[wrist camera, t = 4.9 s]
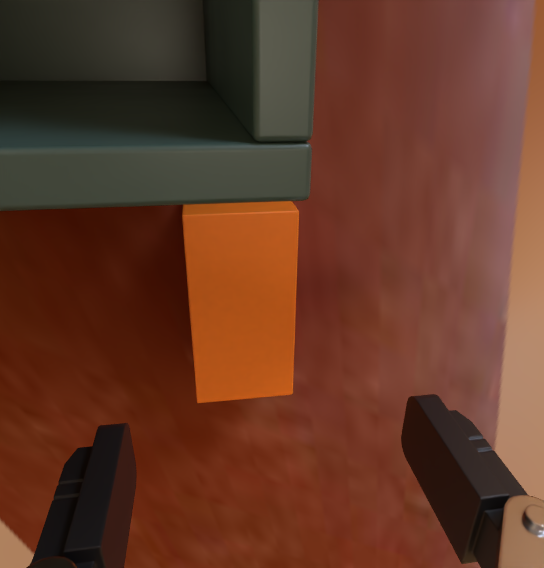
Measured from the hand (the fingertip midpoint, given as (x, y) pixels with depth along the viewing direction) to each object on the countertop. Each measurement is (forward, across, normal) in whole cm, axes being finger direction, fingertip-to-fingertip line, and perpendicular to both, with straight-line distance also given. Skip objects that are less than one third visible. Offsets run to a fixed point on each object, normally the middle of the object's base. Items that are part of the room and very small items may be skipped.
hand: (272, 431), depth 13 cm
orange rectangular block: (+10, 0, 0) cm, 11 cm away
